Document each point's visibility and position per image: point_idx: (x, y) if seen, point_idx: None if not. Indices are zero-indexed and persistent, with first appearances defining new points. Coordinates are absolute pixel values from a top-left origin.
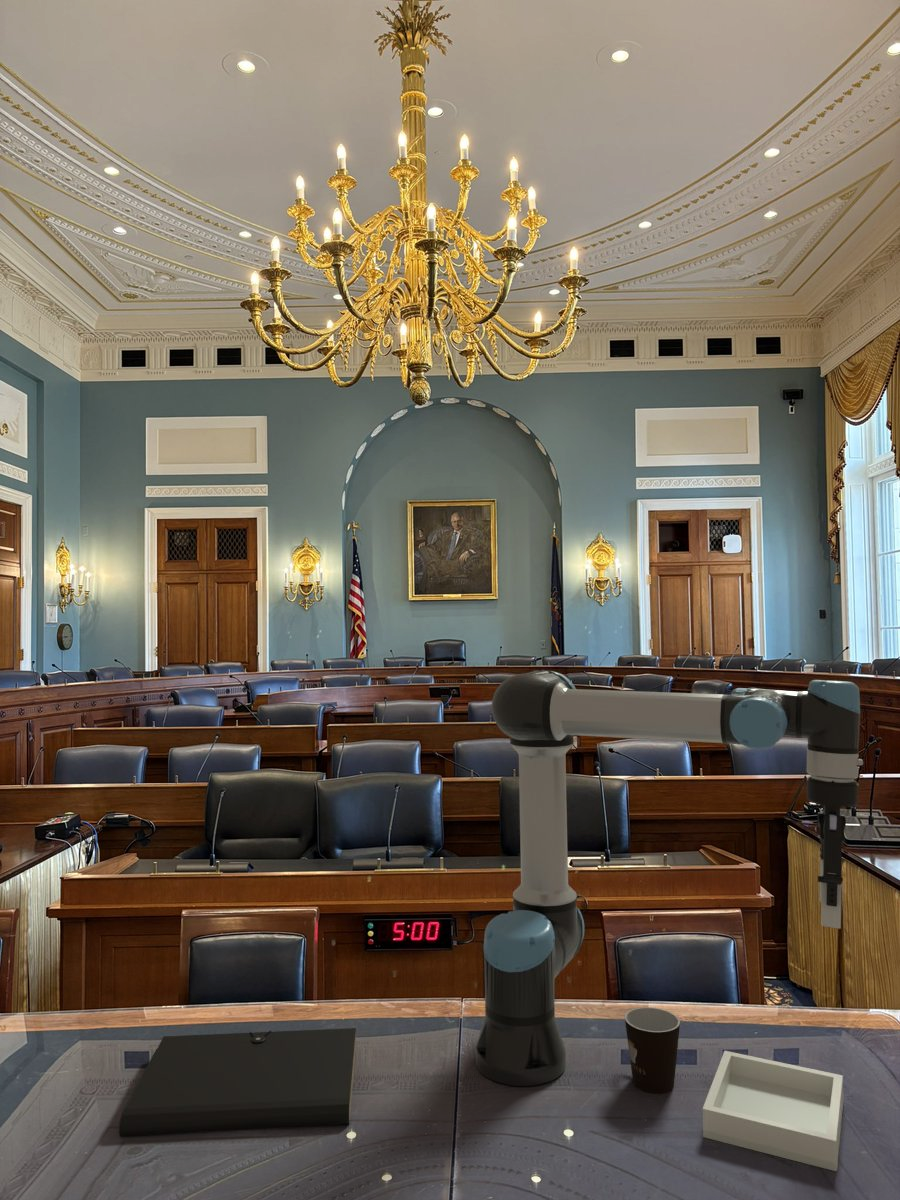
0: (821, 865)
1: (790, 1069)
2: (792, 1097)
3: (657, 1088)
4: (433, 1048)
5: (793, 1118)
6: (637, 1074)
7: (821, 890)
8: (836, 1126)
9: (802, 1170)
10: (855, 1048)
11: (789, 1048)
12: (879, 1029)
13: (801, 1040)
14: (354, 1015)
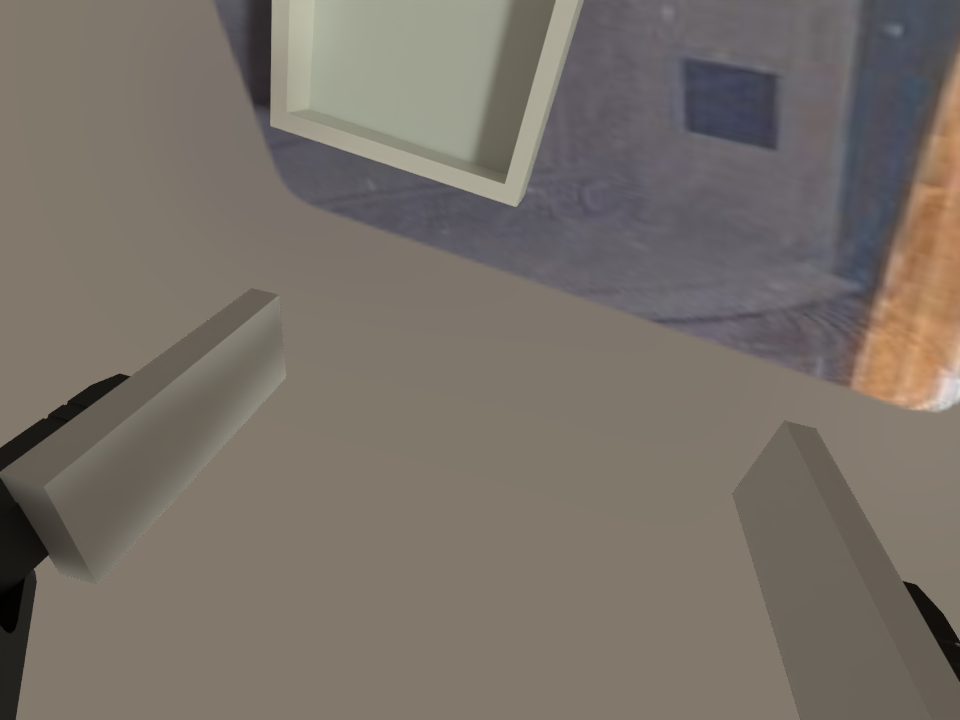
0: (910, 699)
1: (533, 83)
2: (497, 78)
3: None
4: None
5: (413, 63)
6: None
7: (805, 486)
8: (317, 139)
9: None
10: (759, 287)
11: (774, 123)
12: (850, 366)
13: (818, 167)
14: None
